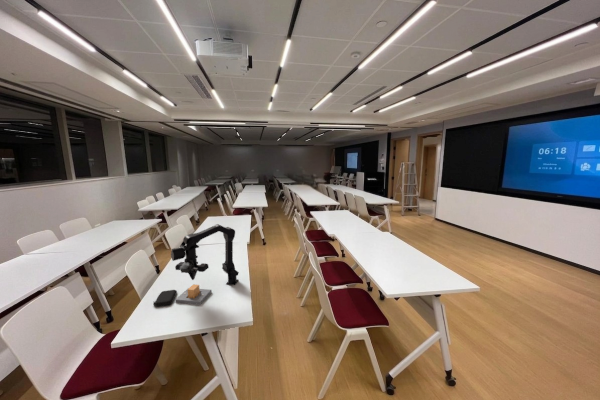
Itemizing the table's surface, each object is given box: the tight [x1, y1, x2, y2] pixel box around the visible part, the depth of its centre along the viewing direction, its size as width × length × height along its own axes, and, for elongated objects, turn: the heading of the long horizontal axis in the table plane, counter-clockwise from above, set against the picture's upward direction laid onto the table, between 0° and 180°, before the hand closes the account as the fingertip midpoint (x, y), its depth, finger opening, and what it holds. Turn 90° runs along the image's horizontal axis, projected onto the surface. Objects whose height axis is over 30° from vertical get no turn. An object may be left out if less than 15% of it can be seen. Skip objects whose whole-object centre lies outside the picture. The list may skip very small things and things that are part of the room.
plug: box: [187, 284, 200, 299], centre depth 147 cm, size 6×4×7 cm, turn 172°
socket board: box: [174, 287, 212, 306], centre depth 147 cm, size 13×16×2 cm
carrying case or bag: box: [153, 289, 178, 308], centre depth 144 cm, size 11×3×15 cm
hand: (193, 279), depth 145 cm, fingers closed
